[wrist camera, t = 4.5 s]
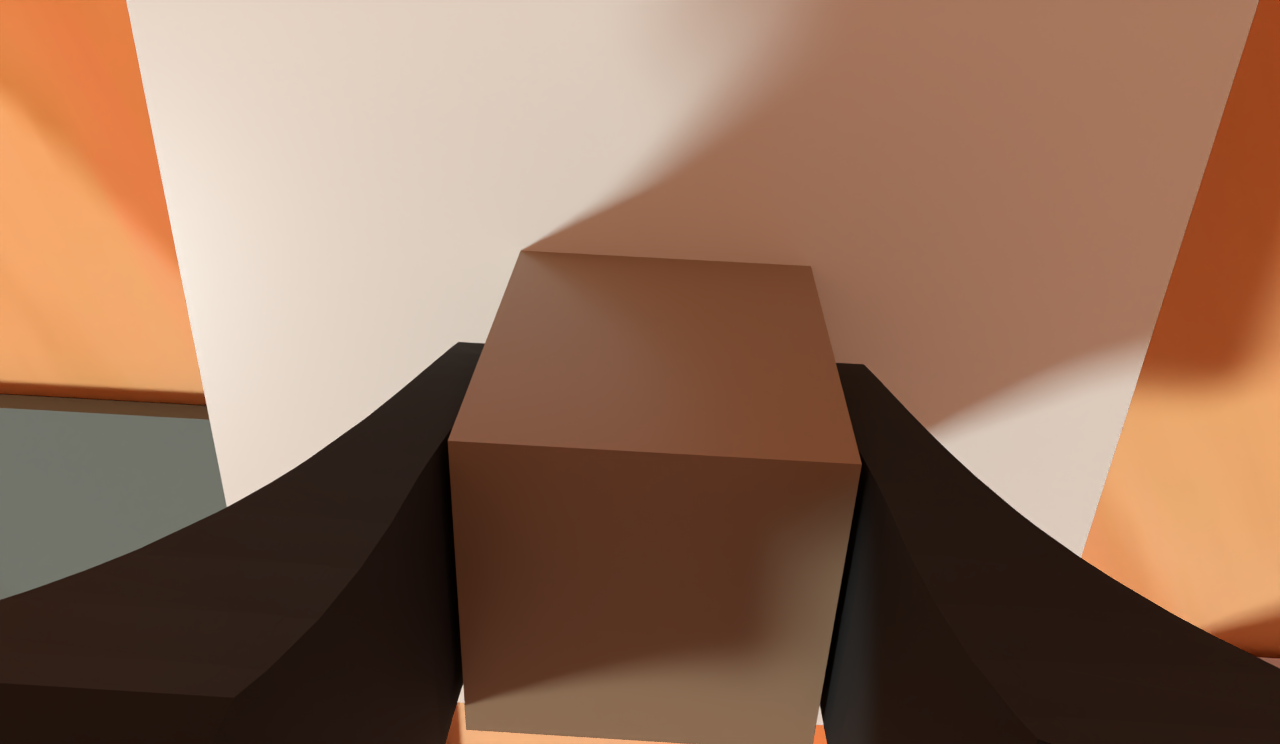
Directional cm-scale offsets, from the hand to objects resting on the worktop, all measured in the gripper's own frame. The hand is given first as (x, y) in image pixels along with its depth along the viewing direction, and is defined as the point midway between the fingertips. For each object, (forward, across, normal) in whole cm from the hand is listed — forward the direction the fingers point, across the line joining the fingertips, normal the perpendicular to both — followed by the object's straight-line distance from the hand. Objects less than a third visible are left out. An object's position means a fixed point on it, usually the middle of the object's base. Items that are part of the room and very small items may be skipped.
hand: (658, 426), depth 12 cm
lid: (+2, 0, 0) cm, 2 cm away
